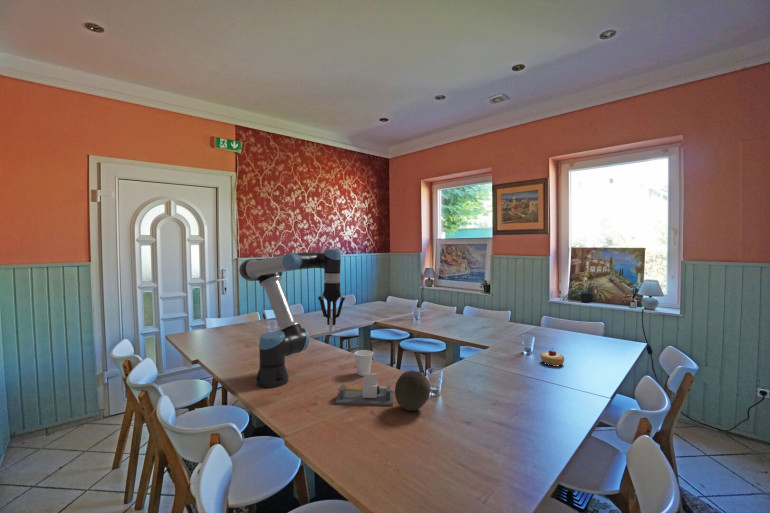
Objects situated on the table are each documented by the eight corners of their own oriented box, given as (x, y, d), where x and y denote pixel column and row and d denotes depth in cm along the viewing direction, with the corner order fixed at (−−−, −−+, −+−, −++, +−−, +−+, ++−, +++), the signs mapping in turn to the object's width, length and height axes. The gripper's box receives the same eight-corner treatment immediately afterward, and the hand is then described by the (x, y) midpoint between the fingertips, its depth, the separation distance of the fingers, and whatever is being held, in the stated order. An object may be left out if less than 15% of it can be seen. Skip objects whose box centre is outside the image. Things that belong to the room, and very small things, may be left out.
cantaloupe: (420, 420, 136) (420, 381, 135) (388, 411, 143) (388, 374, 143) (435, 406, 148) (435, 370, 147) (405, 398, 155) (405, 364, 155)
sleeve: (362, 397, 152) (362, 375, 152) (363, 392, 157) (364, 371, 157) (376, 398, 152) (376, 376, 151) (377, 393, 157) (377, 371, 156)
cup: (370, 378, 178) (370, 356, 177) (351, 376, 180) (351, 355, 179) (375, 371, 188) (375, 350, 187) (357, 369, 190) (357, 349, 189)
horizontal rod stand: (335, 404, 149) (335, 390, 149) (340, 392, 161) (340, 379, 161) (392, 405, 148) (392, 392, 148) (393, 393, 160) (393, 381, 160)
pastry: (541, 366, 198) (540, 350, 197) (540, 359, 209) (540, 344, 208) (565, 368, 193) (565, 352, 193) (563, 361, 204) (563, 346, 204)
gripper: (316, 282, 164) (315, 333, 165) (344, 283, 163) (343, 334, 164) (320, 280, 171) (319, 329, 173) (347, 281, 170) (346, 330, 172)
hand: (331, 331), depth 168 cm, fingers closed
